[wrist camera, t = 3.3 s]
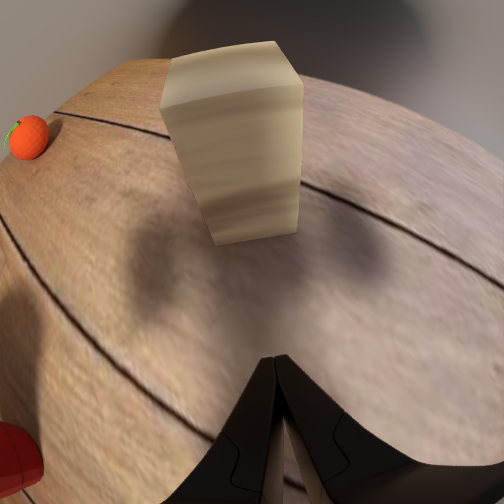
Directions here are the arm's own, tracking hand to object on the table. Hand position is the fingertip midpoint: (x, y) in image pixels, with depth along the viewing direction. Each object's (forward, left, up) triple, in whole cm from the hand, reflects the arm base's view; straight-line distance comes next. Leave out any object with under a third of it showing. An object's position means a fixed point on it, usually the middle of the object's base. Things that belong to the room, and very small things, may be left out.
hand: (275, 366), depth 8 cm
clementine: (-8, +43, -9) cm, 45 cm away
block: (+7, +10, -9) cm, 15 cm away
